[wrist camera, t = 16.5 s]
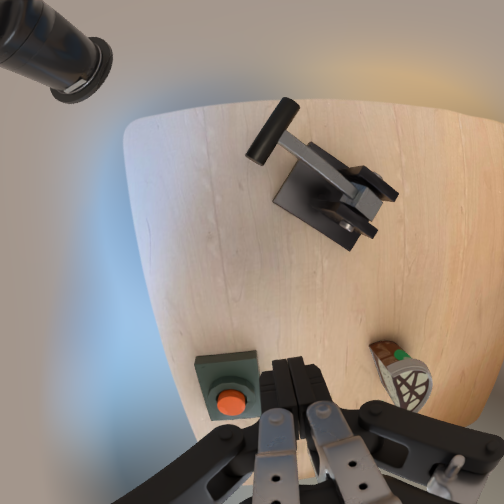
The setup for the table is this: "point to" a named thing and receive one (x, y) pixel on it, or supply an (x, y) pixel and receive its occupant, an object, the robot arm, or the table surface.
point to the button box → (230, 381)
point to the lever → (309, 159)
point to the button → (231, 402)
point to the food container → (402, 375)
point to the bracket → (330, 199)
